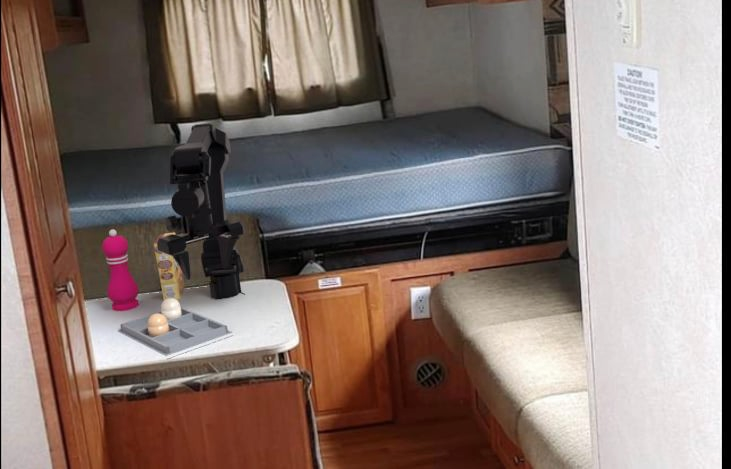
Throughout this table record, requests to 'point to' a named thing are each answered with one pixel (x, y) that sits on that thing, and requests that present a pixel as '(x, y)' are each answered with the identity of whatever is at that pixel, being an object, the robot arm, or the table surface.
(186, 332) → the grey compartment tray
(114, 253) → the pepper mill
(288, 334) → the table surface
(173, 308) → the cream egg
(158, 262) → the candy box
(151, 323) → the beige rounded piece
